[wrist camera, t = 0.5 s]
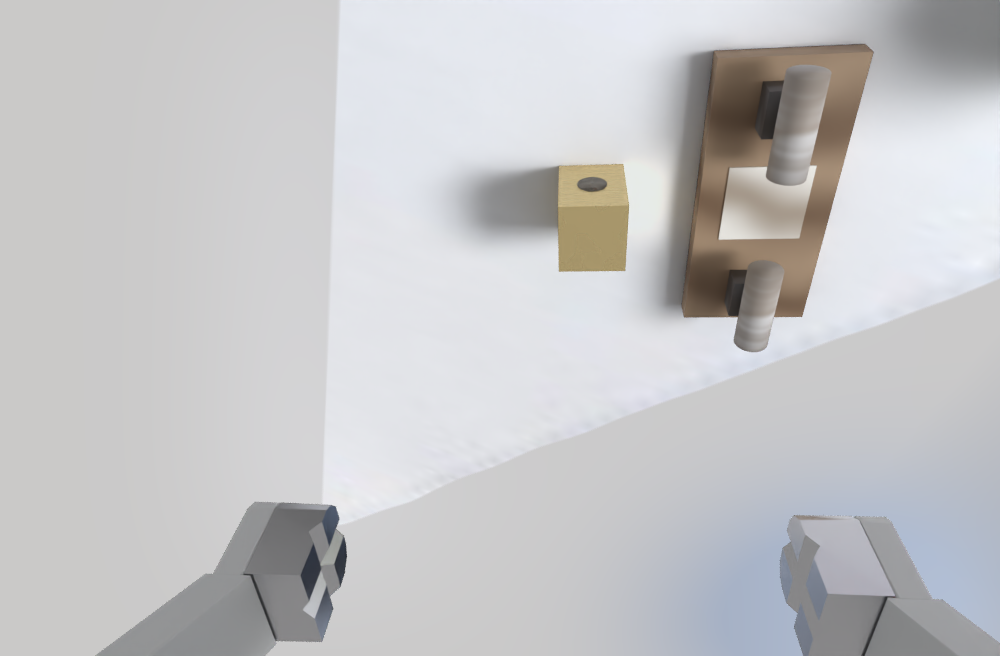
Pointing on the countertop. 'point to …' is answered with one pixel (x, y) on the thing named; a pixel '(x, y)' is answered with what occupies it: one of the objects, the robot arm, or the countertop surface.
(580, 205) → the block
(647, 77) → the countertop surface
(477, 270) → the countertop surface
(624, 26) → the countertop surface
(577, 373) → the countertop surface
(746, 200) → the shaft mount
